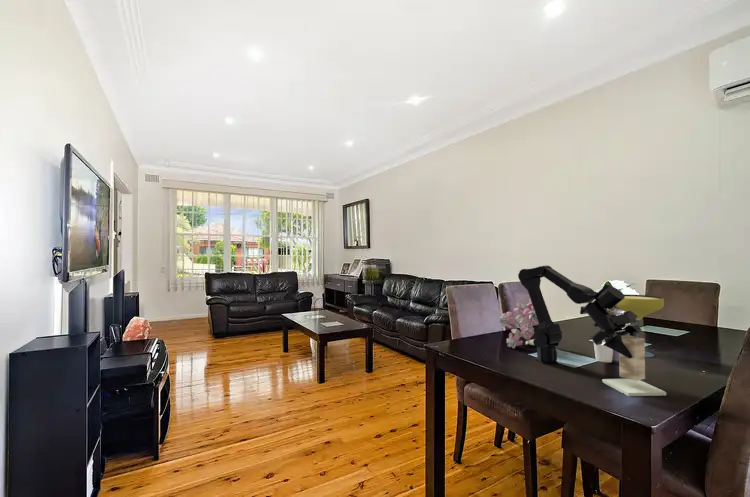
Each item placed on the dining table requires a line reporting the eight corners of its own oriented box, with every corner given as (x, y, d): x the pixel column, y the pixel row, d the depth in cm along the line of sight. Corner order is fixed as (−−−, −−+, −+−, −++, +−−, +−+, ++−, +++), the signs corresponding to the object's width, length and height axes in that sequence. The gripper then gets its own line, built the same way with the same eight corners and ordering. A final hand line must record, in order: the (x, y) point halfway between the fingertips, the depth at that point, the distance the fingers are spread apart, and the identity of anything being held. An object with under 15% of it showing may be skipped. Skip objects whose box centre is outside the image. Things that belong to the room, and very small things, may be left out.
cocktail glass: (649, 362, 142) (647, 300, 143) (604, 351, 159) (603, 295, 159) (674, 356, 149) (673, 297, 150) (629, 346, 166) (628, 293, 166)
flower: (493, 335, 185) (492, 294, 175) (538, 331, 182) (539, 290, 172) (503, 362, 167) (502, 319, 157) (553, 358, 164) (555, 314, 154)
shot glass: (617, 363, 141) (616, 345, 142) (598, 362, 143) (597, 345, 143) (609, 358, 148) (608, 341, 148) (591, 357, 150) (590, 341, 150)
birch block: (619, 376, 117) (618, 336, 117) (628, 373, 119) (628, 335, 119) (635, 381, 112) (635, 340, 112) (645, 378, 114) (644, 338, 114)
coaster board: (628, 396, 109) (628, 392, 109) (602, 382, 121) (602, 379, 121) (666, 395, 109) (666, 392, 109) (636, 381, 121) (636, 378, 121)
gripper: (600, 304, 115) (638, 346, 105) (634, 301, 123) (672, 339, 113) (578, 324, 122) (611, 365, 112) (611, 319, 130) (645, 357, 120)
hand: (636, 356), depth 114 cm, fingers closed on birch block, 5 cm apart
